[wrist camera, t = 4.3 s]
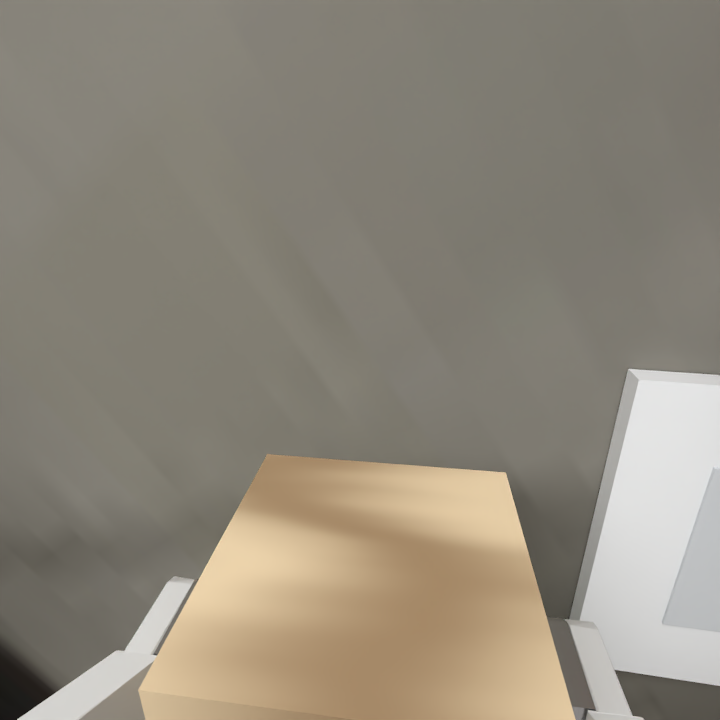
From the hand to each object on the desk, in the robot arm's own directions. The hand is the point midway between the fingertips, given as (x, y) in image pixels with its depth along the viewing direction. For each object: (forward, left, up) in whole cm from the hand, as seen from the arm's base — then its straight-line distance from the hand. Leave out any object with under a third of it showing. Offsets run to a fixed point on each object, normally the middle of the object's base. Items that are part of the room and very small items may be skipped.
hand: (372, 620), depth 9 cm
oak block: (0, 0, -2) cm, 2 cm away
